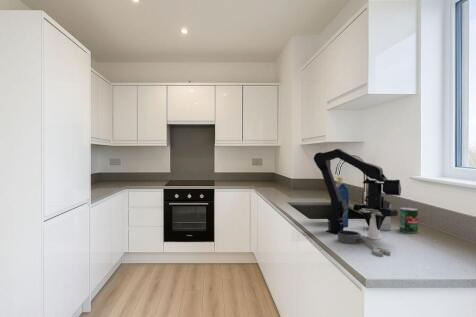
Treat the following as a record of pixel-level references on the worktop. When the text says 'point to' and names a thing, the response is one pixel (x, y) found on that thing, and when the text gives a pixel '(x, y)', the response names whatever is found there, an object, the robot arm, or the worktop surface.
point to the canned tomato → (408, 220)
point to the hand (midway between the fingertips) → (374, 228)
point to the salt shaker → (373, 228)
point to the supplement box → (385, 222)
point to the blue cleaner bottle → (343, 197)
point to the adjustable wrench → (375, 247)
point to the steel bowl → (349, 237)
